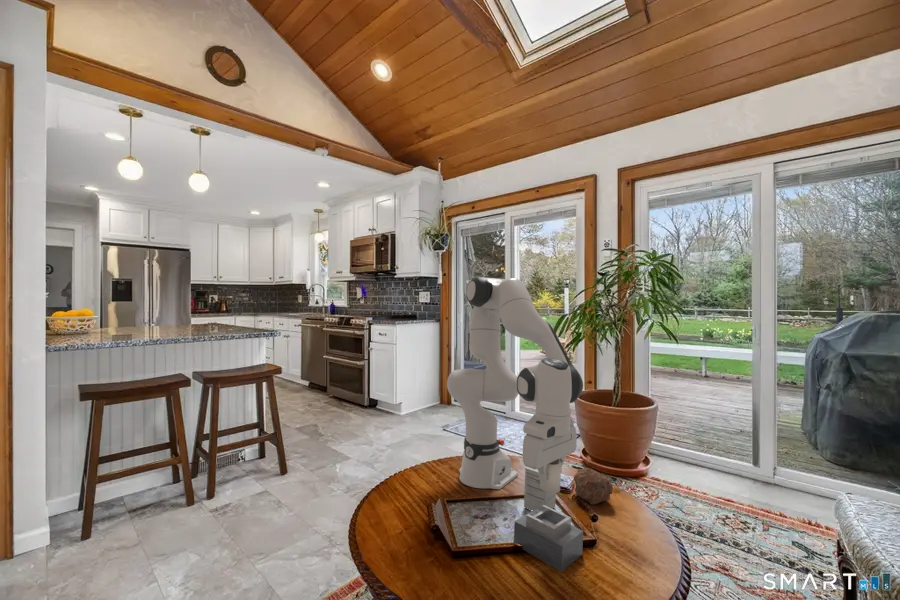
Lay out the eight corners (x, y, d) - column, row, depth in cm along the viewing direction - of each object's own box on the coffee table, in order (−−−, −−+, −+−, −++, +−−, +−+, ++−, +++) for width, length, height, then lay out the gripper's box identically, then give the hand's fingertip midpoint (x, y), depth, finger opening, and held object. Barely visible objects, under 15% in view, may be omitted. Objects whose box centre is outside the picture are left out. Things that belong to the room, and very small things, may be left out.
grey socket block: (541, 526, 112) (542, 496, 113) (587, 549, 102) (589, 517, 102) (513, 544, 104) (514, 511, 104) (561, 572, 93) (562, 536, 93)
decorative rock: (618, 511, 123) (619, 478, 123) (582, 510, 122) (584, 478, 122) (599, 490, 136) (600, 461, 136) (567, 490, 135) (568, 461, 135)
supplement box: (534, 499, 128) (535, 460, 128) (555, 508, 123) (557, 467, 123) (522, 508, 122) (524, 467, 122) (545, 517, 117) (546, 474, 117)
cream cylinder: (546, 482, 105) (548, 453, 106) (563, 489, 102) (565, 458, 102) (536, 487, 102) (537, 457, 102) (553, 495, 98) (554, 463, 98)
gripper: (562, 413, 112) (560, 462, 111) (519, 427, 97) (516, 483, 97) (583, 418, 107) (581, 470, 107) (541, 434, 93) (538, 493, 93)
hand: (550, 476), depth 102 cm, fingers closed on cream cylinder, 5 cm apart
